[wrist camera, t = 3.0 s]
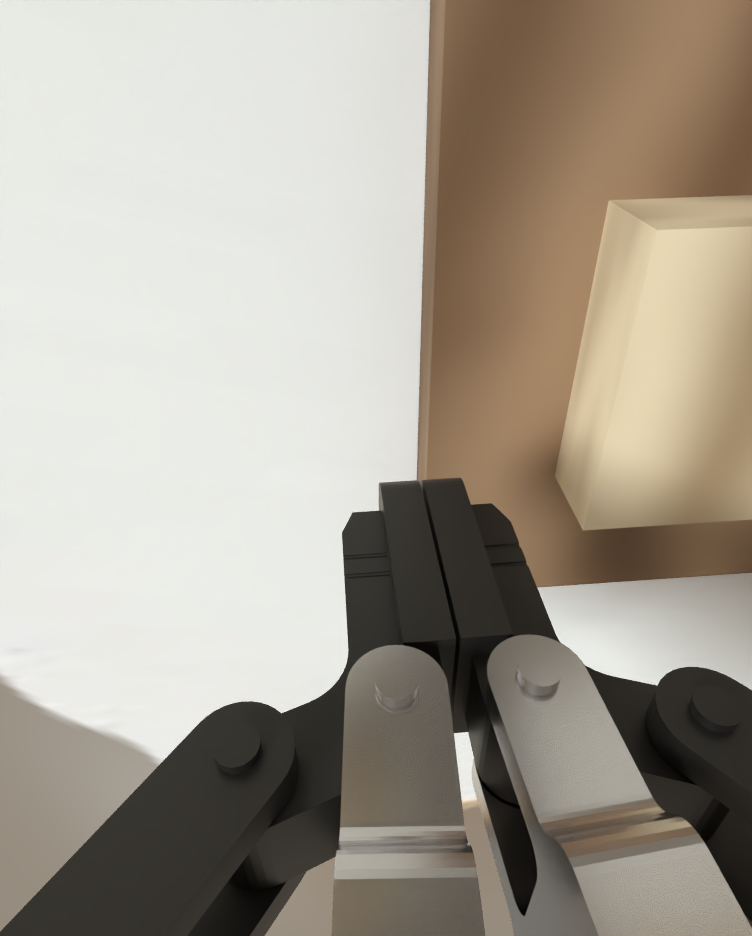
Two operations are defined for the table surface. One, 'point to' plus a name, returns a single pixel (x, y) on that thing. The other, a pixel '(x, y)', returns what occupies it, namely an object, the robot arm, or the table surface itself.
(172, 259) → the table surface
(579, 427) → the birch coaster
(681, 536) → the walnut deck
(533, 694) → the robot arm
